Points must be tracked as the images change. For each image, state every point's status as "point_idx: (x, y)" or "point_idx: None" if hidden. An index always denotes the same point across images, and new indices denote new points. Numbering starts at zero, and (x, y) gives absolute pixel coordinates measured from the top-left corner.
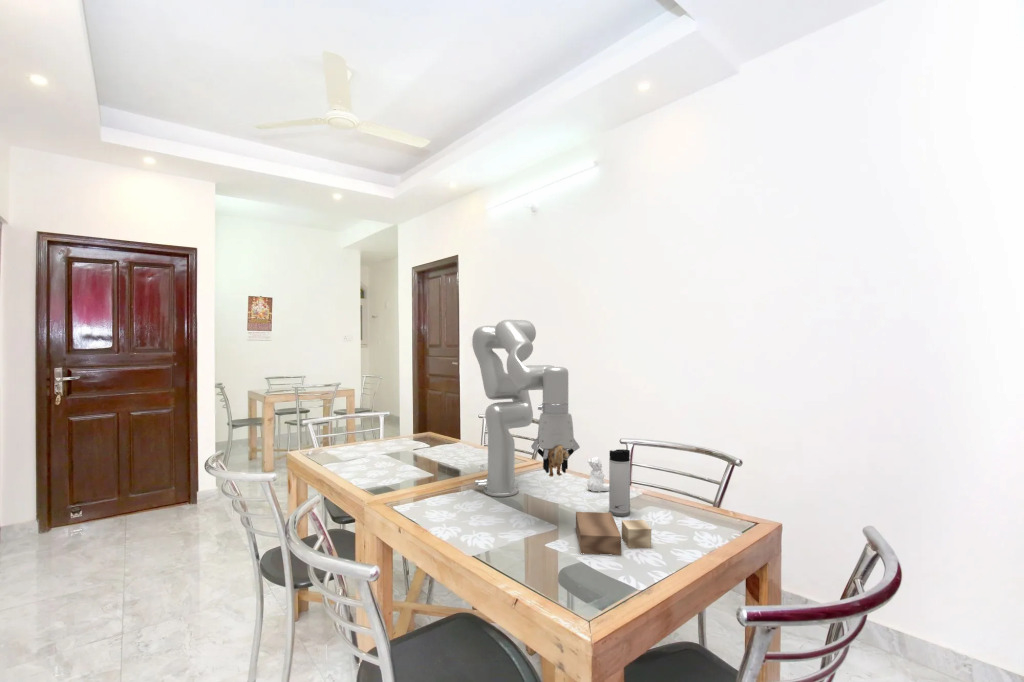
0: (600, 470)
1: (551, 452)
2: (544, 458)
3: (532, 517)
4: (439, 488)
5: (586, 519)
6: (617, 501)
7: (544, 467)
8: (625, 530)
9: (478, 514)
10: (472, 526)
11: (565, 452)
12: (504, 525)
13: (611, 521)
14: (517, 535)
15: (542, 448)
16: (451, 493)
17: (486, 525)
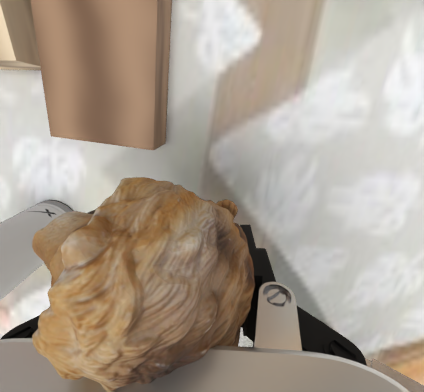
0: None
1: (236, 295)
2: (278, 290)
3: (257, 211)
4: (420, 365)
5: (127, 83)
6: (34, 218)
7: (262, 252)
8: (16, 16)
9: (379, 236)
10: (417, 169)
11: (57, 256)
12: (335, 170)
13: (49, 59)
14: (319, 105)
15: (366, 366)
16: (404, 342)
17: (380, 173)
